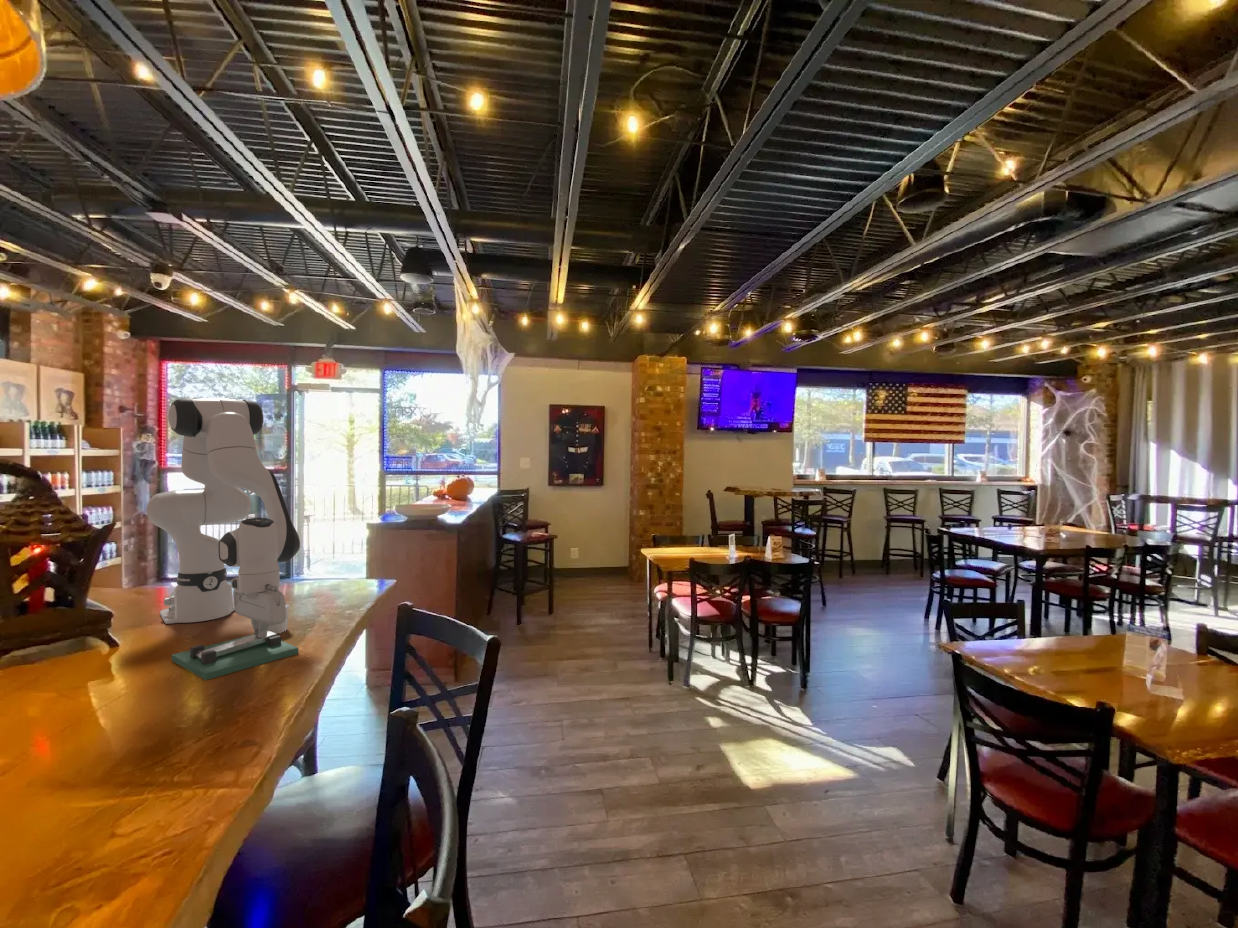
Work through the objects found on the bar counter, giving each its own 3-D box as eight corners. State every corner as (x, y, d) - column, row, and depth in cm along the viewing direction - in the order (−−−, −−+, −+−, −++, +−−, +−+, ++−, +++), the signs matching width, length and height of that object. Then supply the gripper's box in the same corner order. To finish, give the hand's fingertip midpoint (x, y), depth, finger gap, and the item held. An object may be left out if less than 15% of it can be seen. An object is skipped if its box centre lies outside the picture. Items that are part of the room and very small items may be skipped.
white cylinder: (295, 627, 162) (295, 603, 162) (278, 635, 155) (278, 610, 155) (273, 626, 163) (272, 602, 163) (255, 634, 156) (255, 609, 156)
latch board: (171, 660, 137) (171, 644, 137) (261, 637, 153) (261, 623, 153) (205, 680, 126) (205, 662, 125) (298, 653, 142) (298, 637, 142)
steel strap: (195, 658, 134) (194, 651, 134) (269, 636, 148) (269, 629, 147) (202, 662, 132) (201, 654, 132) (276, 639, 145) (276, 632, 145)
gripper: (292, 584, 140) (294, 640, 140) (254, 575, 151) (255, 626, 152) (265, 590, 135) (266, 647, 135) (227, 580, 146) (229, 633, 146)
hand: (260, 636), depth 143 cm, fingers closed, pressing on steel strap
